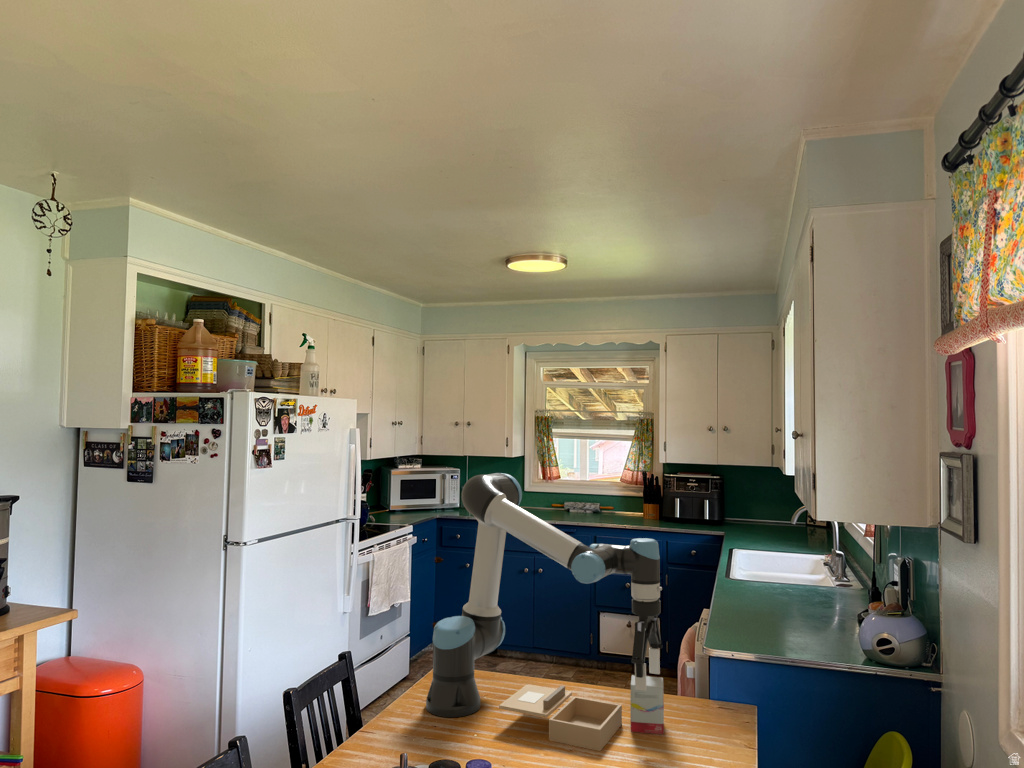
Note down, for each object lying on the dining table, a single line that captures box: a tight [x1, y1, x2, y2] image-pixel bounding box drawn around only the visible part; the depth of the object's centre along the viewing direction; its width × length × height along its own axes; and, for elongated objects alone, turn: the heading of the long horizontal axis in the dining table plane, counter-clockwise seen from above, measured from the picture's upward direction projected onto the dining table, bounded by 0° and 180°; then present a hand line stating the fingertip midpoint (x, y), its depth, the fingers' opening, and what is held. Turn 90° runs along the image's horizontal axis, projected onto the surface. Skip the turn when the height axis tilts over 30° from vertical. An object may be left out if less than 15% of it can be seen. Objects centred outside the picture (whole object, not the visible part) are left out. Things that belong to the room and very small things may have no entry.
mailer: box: [548, 696, 623, 752], centre depth 178 cm, size 13×17×5 cm
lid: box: [498, 683, 573, 719], centre depth 184 cm, size 13×17×3 cm
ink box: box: [630, 674, 665, 735], centre depth 182 cm, size 9×9×12 cm
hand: (647, 681), depth 182 cm, fingers open, 13 cm apart
